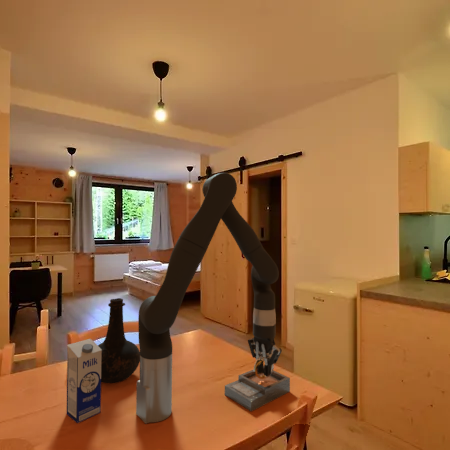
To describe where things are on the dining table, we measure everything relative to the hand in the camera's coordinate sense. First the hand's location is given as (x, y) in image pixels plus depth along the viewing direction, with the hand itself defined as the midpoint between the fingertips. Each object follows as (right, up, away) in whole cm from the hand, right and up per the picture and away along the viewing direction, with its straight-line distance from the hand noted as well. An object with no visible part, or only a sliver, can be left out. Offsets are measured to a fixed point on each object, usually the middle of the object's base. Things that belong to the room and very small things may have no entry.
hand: (263, 373), depth 105 cm
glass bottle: (-53, -5, +8) cm, 53 cm away
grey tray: (-2, -5, -2) cm, 6 cm away
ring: (0, -2, 0) cm, 2 cm away
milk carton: (-54, -5, -14) cm, 56 cm away
